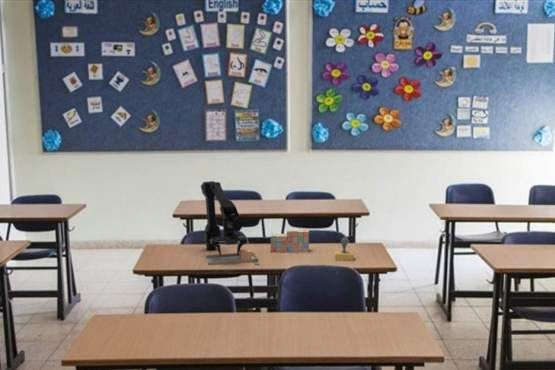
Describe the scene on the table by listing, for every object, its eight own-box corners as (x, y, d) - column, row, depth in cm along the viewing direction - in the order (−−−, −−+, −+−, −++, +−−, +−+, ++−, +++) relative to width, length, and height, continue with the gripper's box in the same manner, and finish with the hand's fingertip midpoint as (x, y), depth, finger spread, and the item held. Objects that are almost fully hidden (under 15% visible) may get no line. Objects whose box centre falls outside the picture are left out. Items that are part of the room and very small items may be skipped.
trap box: (205, 260, 336) (205, 255, 336) (253, 257, 342) (253, 252, 341) (208, 267, 324) (208, 262, 323) (258, 264, 329) (258, 258, 329)
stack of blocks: (270, 252, 352) (270, 230, 350) (271, 249, 358) (271, 228, 356) (308, 252, 350) (308, 231, 348) (309, 249, 356) (309, 228, 354)
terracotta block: (239, 256, 337) (239, 249, 337) (250, 256, 339) (250, 249, 338) (240, 259, 333) (240, 252, 332) (252, 259, 334) (252, 251, 333)
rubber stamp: (334, 260, 336) (335, 238, 334) (334, 257, 342) (335, 236, 339) (353, 260, 335) (354, 239, 333) (353, 257, 341) (353, 236, 339)
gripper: (212, 232, 321) (213, 261, 324) (248, 230, 325) (249, 259, 328) (210, 227, 332) (210, 255, 335) (245, 225, 336) (245, 253, 339)
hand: (229, 256), depth 334 cm, fingers open, 9 cm apart
